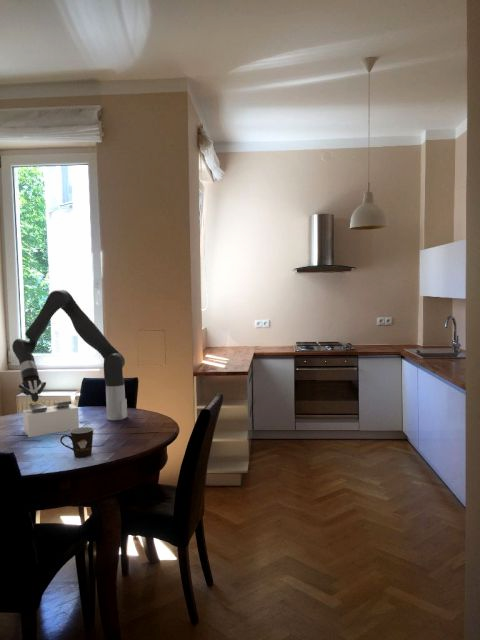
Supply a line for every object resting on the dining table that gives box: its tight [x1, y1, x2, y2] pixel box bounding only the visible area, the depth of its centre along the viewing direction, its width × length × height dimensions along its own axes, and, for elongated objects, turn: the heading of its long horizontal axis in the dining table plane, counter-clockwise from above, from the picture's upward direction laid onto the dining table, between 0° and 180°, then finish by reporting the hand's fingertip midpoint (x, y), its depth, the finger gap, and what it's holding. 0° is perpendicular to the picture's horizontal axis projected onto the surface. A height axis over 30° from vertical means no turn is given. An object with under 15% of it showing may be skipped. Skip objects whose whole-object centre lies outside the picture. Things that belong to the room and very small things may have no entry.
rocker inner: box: [53, 400, 72, 406], centre depth 225 cm, size 6×8×2 cm
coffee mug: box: [59, 426, 94, 459], centre depth 185 cm, size 12×9×10 cm
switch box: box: [22, 403, 80, 438], centre depth 223 cm, size 22×12×11 cm, turn 125°
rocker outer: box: [28, 401, 48, 412], centre depth 219 cm, size 6×8×2 cm
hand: (35, 400), depth 223 cm, fingers closed
